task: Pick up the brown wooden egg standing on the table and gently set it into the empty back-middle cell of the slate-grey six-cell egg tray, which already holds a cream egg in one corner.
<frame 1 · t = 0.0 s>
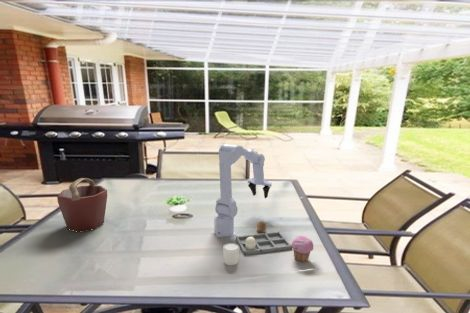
hand: (260, 196, 177), 11 cm above the table, tool pointing down, fingers open, 7 cm apart
cream egg: (250, 249, 136), resting on egg tray
cupcake: (301, 260, 129), on the table
egg tray: (263, 245, 142), on the table
bucket: (84, 226, 163), on the table
white textured cylinder: (231, 263, 127), on the table
brown egg: (261, 232, 155), on the table
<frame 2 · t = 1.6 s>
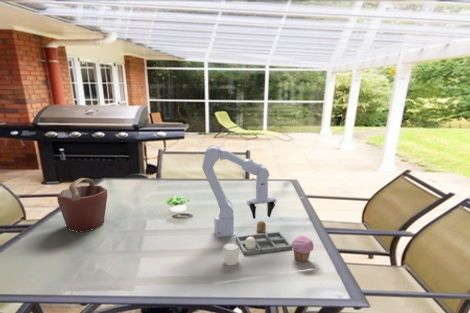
hand: (261, 217, 153), 8 cm above the table, tool pointing down, fingers open, 7 cm apart
nothing on the table moved.
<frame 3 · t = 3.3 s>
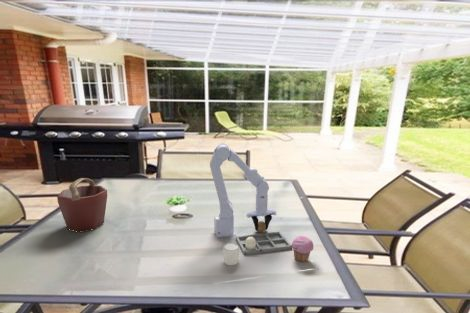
hand: (261, 229, 154), 1 cm above the table, tool pointing down, fingers closed on brown egg, 4 cm apart
brown egg: (261, 232, 155), on the table, touching gripper
everything else where it was.
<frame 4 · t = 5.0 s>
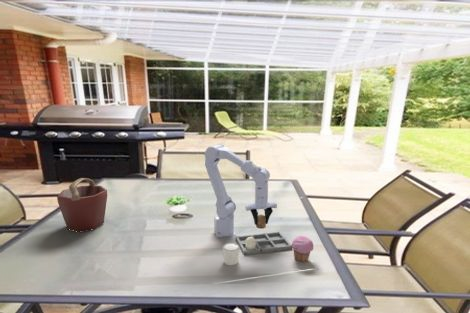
hand: (261, 223, 144), 8 cm above the table, tool pointing down, fingers closed on brown egg, 4 cm apart
brown egg: (260, 226, 145), point 7 cm above the table, touching gripper
everything else where it was.
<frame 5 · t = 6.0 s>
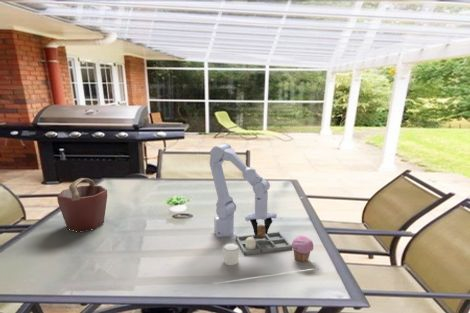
hand: (260, 233, 144), 4 cm above the table, tool pointing down, fingers closed on brown egg, 4 cm apart
brown egg: (260, 236, 144), point 2 cm above the table, touching gripper
everything else where it was.
when the fingers open (4 cm above the table, at t = 6.8 s): brown egg drops 2 cm, resting on egg tray.
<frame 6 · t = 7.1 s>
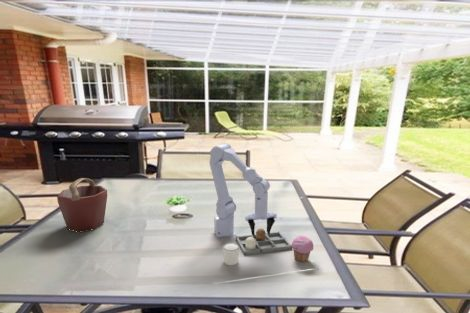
hand: (260, 233, 144), 4 cm above the table, tool pointing down, fingers open, 7 cm apart
brown egg: (260, 240, 145), point 1 cm above the table, touching egg tray
everything else where it was.
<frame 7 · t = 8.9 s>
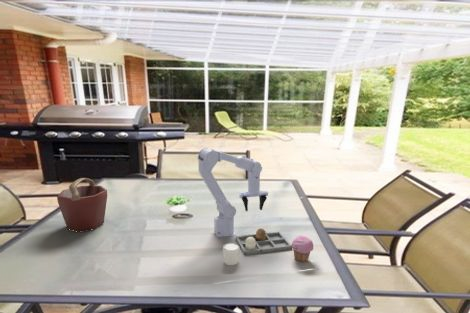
hand: (253, 210, 159), 9 cm above the table, tool pointing down, fingers open, 7 cm apart
nothing on the table moved.
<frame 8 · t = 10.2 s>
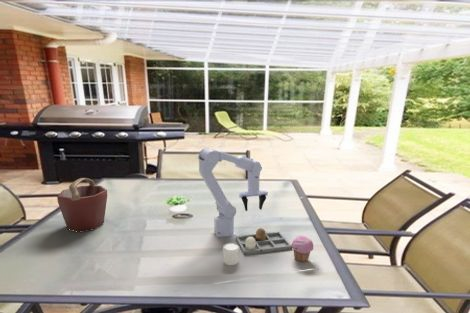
hand: (253, 209, 159), 9 cm above the table, tool pointing down, fingers open, 7 cm apart
nothing on the table moved.
at the end: brown egg 0.0 cm from the target spot on the egg tray, point 0.5 cm above the egg tray's base; brown egg tilted 1°; the gripper is holding nothing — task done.
